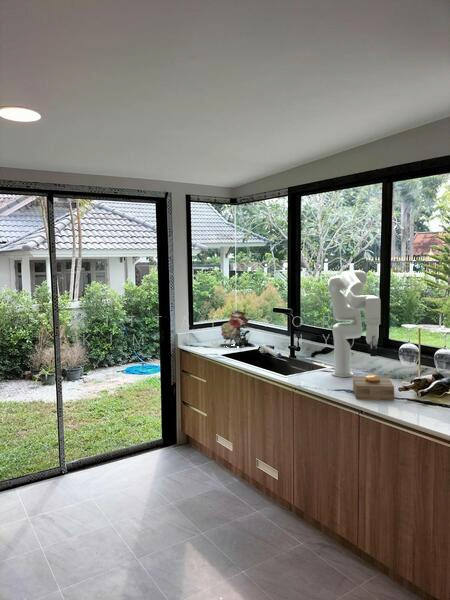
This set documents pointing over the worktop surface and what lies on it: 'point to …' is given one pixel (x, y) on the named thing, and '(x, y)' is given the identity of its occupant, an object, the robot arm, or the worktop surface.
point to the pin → (372, 378)
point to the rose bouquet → (235, 329)
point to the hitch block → (373, 389)
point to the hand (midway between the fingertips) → (372, 354)
